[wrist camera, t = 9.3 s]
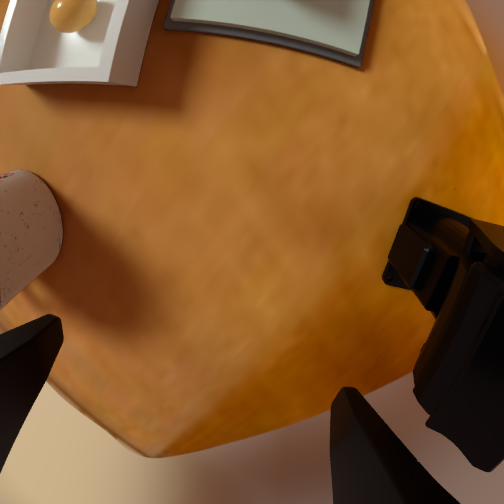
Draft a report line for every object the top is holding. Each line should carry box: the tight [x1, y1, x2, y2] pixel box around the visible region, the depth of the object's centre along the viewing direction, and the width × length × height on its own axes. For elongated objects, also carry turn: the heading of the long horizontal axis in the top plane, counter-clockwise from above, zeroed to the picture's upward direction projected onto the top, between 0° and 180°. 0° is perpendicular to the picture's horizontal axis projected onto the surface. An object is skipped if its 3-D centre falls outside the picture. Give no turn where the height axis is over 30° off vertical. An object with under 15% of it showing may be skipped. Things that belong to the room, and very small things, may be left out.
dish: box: [0, 0, 159, 87], centre depth 13 cm, size 10×10×4 cm
